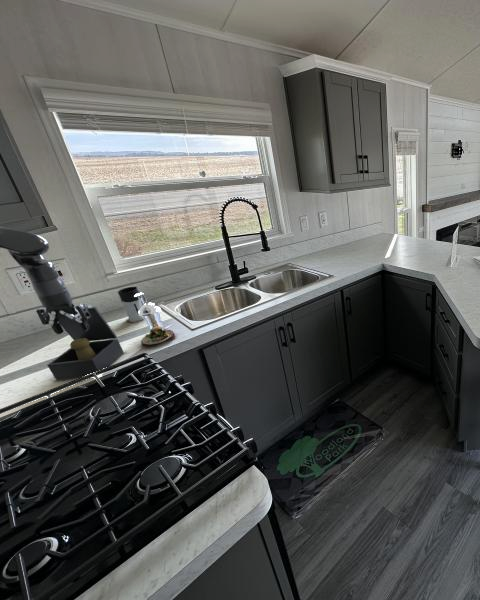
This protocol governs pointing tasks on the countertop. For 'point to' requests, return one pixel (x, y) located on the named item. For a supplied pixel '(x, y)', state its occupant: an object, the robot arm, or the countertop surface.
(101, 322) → the hatch
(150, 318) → the cup with straw
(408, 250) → the countertop surface
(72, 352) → the black hinged lid box
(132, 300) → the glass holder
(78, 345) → the cork
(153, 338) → the bowl of salad
